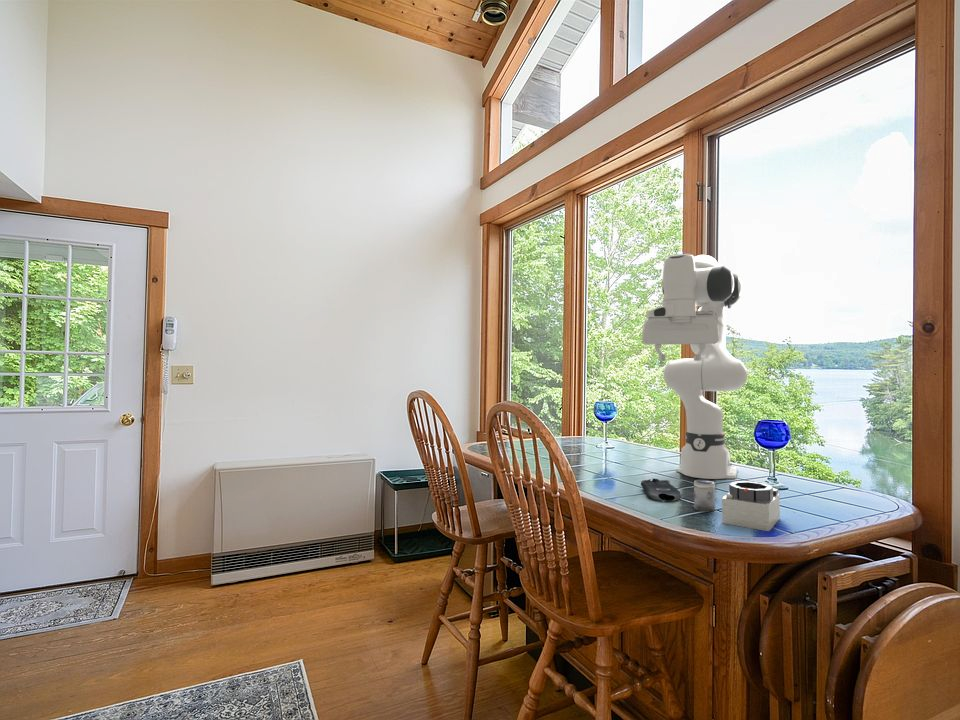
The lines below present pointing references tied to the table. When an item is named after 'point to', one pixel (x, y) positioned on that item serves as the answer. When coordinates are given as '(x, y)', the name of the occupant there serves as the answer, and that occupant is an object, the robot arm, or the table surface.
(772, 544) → the table surface
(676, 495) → the electronic device
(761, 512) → the camera body
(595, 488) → the table surface
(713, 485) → the lens
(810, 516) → the table surface
